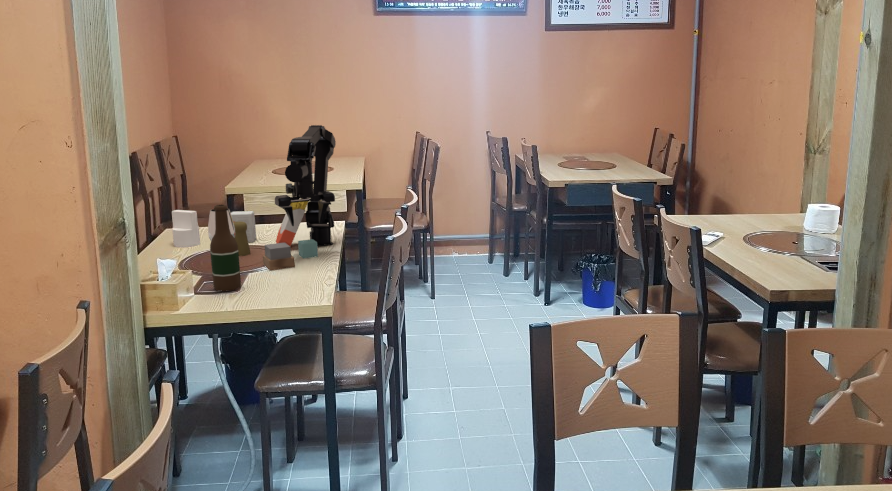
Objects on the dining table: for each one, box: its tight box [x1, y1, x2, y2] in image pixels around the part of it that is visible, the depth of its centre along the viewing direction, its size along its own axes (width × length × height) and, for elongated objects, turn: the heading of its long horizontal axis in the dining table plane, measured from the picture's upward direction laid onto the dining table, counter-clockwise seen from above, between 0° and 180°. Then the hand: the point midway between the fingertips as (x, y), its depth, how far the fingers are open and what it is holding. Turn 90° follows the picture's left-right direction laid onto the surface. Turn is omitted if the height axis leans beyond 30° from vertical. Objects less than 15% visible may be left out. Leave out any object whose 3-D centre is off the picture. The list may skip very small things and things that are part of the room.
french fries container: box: [275, 201, 309, 247], centre depth 265 cm, size 5×11×18 cm, turn 17°
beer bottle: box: [209, 204, 242, 292], centre depth 216 cm, size 8×8×24 cm
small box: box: [230, 210, 257, 243], centre depth 276 cm, size 8×6×10 cm
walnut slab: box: [262, 254, 296, 271], centre depth 242 cm, size 8×8×4 cm
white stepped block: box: [171, 209, 201, 248], centre depth 272 cm, size 9×9×12 cm
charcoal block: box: [264, 242, 292, 260], centre depth 241 cm, size 6×6×4 cm
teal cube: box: [297, 238, 319, 259], centre depth 254 cm, size 5×5×5 cm
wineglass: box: [207, 208, 235, 242], centre depth 231 cm, size 8×8×20 cm
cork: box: [234, 221, 251, 257], centre depth 257 cm, size 6×6×11 cm
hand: (306, 224), depth 252 cm, fingers open, 9 cm apart
